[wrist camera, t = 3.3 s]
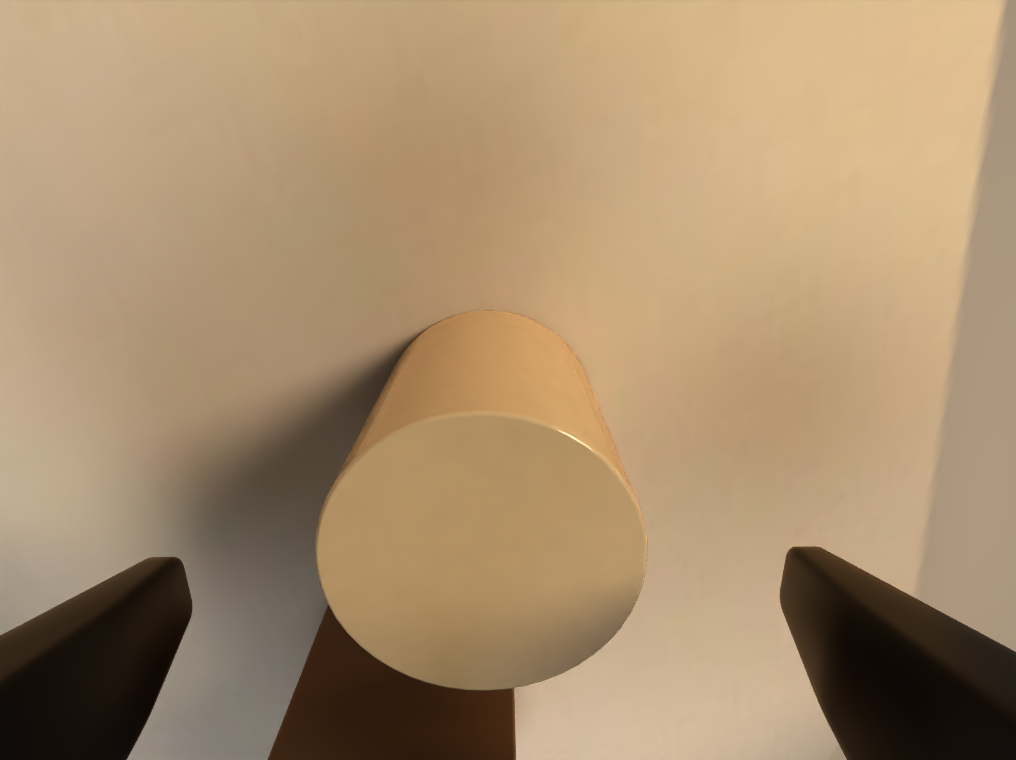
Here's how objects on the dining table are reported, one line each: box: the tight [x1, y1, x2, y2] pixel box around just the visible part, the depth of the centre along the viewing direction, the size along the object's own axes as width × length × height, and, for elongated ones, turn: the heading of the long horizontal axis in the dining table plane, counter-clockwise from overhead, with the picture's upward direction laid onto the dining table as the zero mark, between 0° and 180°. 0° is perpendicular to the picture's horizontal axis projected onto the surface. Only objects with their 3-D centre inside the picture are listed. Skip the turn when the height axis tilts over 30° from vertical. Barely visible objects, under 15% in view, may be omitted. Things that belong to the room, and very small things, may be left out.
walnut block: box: [268, 605, 516, 760], centre depth 15 cm, size 5×5×5 cm
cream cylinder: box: [315, 310, 647, 691], centre depth 12 cm, size 5×5×6 cm
